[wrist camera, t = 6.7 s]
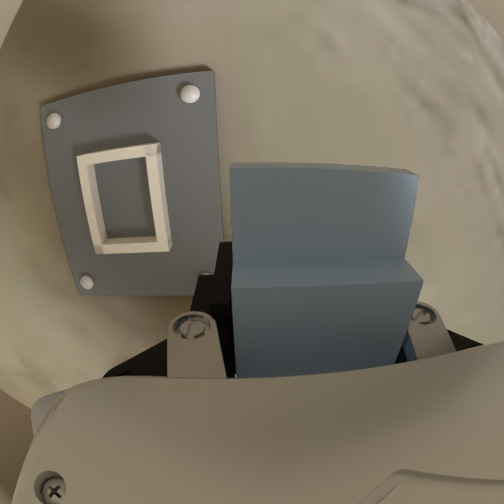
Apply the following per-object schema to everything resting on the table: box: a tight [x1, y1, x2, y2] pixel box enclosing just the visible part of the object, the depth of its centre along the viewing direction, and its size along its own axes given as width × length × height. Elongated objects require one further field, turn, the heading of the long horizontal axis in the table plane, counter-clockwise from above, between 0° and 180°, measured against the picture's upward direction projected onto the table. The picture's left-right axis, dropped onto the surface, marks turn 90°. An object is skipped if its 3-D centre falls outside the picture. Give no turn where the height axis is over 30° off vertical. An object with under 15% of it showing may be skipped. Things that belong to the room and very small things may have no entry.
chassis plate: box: [40, 70, 224, 296], centre depth 27 cm, size 18×22×2 cm
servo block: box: [230, 162, 424, 378], centre depth 10 cm, size 4×10×6 cm, turn 0°
